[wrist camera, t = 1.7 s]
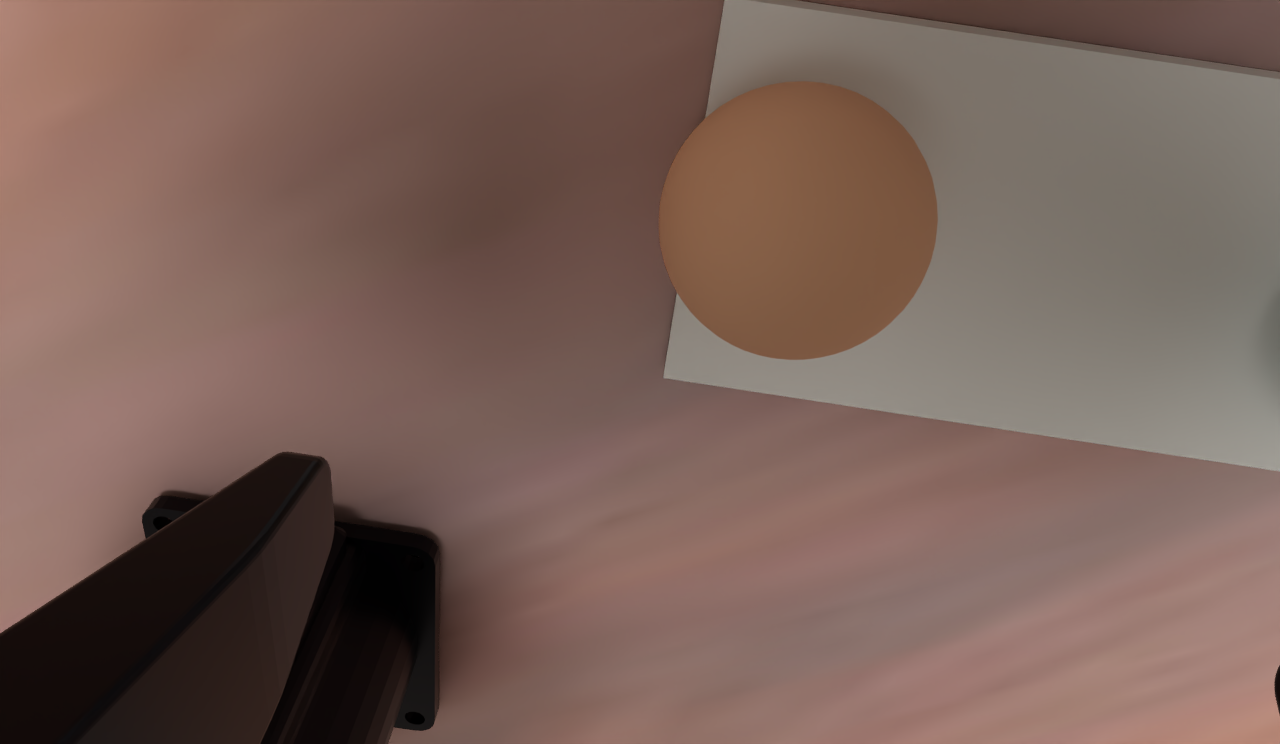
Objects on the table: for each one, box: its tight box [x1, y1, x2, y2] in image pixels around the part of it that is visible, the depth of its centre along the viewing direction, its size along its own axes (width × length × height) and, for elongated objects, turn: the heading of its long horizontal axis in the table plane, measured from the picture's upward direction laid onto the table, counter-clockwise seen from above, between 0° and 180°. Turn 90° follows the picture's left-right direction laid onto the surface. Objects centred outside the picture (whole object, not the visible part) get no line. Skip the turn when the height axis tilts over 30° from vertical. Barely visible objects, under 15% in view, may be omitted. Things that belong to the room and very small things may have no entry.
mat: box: [663, 0, 1280, 471], centre depth 17 cm, size 7×15×1 cm, turn 83°
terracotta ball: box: [659, 81, 938, 360], centre depth 15 cm, size 4×4×4 cm
